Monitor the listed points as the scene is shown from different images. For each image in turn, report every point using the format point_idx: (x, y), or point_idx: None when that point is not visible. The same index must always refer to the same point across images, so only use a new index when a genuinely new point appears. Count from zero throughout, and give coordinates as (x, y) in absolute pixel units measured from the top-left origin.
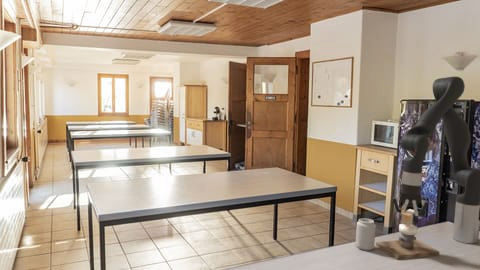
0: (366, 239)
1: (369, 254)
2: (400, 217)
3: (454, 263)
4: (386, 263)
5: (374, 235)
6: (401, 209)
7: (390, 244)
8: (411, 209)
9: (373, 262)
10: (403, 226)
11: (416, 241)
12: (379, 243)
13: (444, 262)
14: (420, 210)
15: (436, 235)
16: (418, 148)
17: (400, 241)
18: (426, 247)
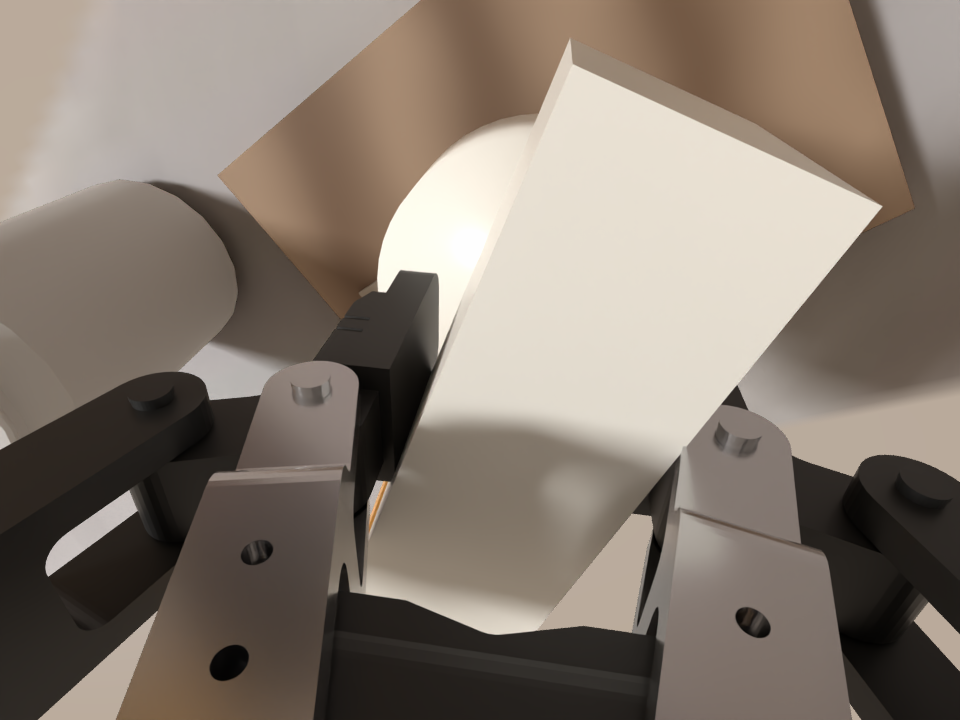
0: None
1: (241, 384)
2: (340, 322)
3: (945, 356)
4: (373, 487)
5: (163, 362)
6: (258, 450)
7: (368, 185)
8: (664, 107)
9: None
10: (446, 334)
11: None
12: (258, 199)
13: (848, 361)
14: (904, 573)
15: None
16: None
17: (485, 7)
18: (797, 115)
